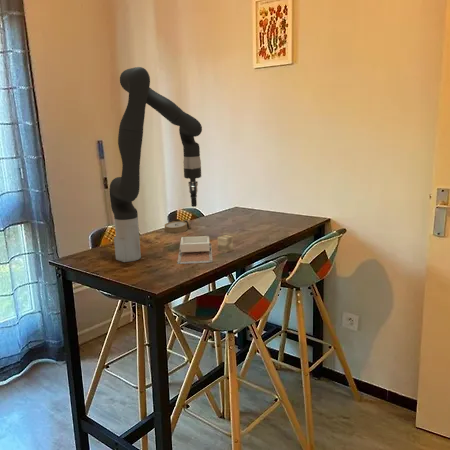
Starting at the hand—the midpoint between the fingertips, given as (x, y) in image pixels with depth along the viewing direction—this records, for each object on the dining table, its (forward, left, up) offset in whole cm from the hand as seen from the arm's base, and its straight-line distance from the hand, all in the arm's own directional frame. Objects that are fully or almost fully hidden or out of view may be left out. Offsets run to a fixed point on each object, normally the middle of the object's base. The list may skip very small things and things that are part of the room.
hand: (194, 205), depth 208 cm
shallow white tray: (-9, -8, -17) cm, 21 cm away
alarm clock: (+12, +25, -18) cm, 33 cm away
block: (-1, -19, -17) cm, 26 cm away
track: (-12, -12, -17) cm, 24 cm away
